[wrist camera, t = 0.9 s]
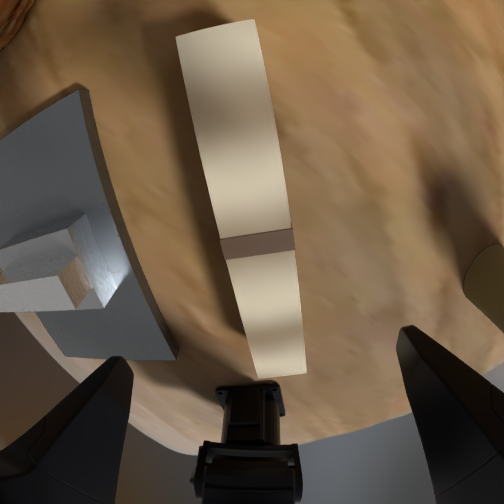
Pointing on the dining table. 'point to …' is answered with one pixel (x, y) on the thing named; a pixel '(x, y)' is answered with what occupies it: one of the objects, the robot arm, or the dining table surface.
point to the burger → (12, 18)
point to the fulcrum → (73, 241)
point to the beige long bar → (246, 188)
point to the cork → (487, 284)
